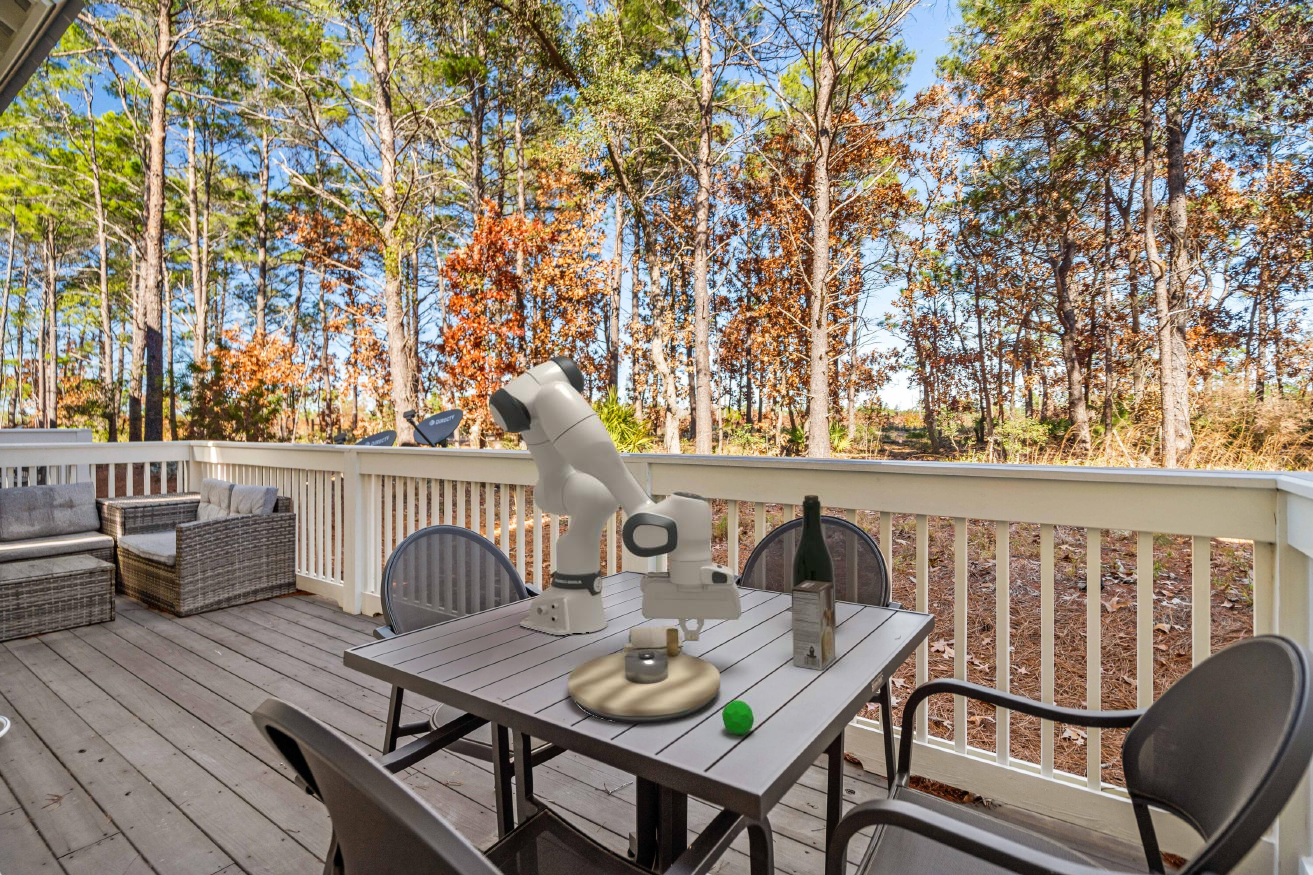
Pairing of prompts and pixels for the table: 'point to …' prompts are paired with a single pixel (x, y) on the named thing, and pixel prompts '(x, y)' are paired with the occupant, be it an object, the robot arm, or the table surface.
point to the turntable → (614, 694)
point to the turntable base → (646, 719)
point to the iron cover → (646, 666)
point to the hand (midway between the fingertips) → (691, 640)
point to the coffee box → (813, 624)
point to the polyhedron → (738, 717)
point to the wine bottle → (812, 549)
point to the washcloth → (652, 638)
